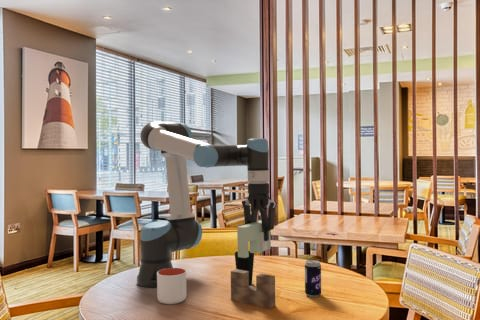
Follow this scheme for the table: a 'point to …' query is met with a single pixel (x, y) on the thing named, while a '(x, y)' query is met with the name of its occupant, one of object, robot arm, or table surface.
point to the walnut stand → (253, 289)
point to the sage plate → (250, 239)
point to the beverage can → (313, 278)
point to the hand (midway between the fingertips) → (259, 249)
